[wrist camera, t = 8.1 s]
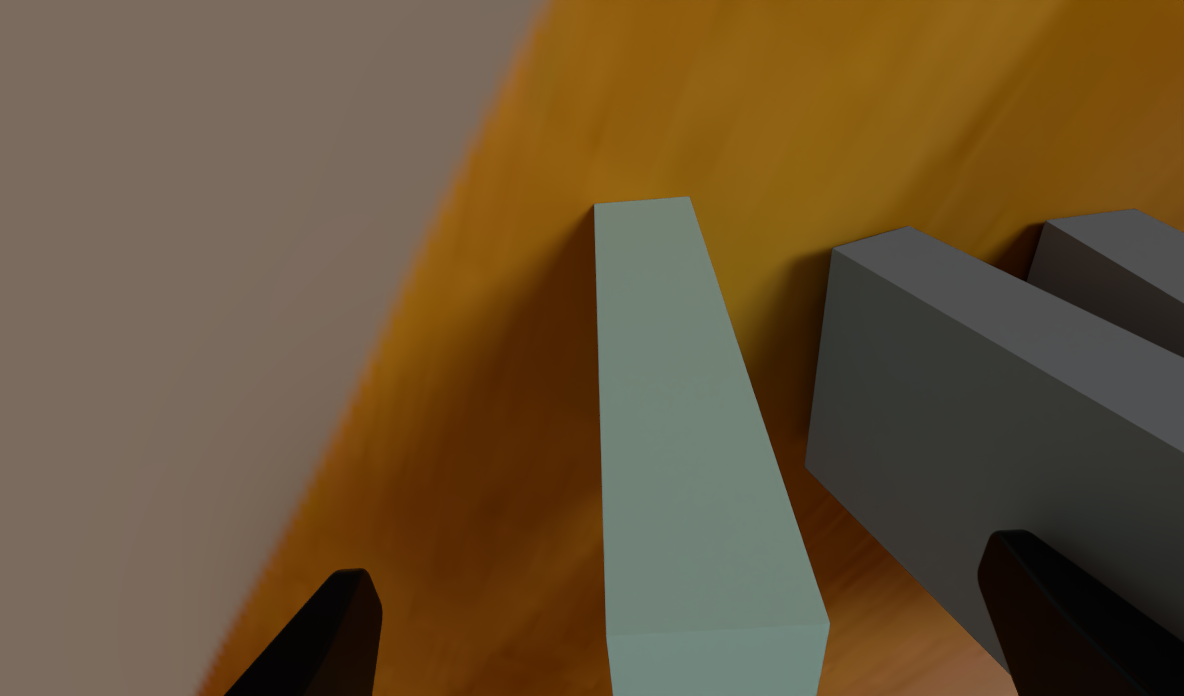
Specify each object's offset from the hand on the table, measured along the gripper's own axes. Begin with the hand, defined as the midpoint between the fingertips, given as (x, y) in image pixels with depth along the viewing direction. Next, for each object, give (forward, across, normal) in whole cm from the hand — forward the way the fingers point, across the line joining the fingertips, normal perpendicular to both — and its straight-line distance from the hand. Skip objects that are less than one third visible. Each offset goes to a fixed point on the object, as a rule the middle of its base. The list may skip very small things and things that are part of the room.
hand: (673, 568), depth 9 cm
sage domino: (+5, 0, -1) cm, 5 cm away
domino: (+4, -4, 0) cm, 6 cm away
